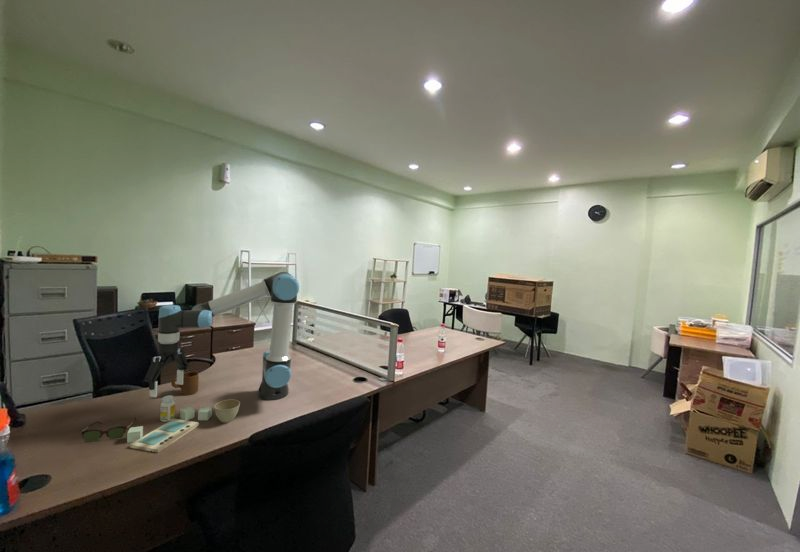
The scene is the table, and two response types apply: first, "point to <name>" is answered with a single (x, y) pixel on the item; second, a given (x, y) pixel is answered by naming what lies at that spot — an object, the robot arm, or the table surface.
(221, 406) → the beige bowl
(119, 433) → the sunglasses
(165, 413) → the supplement bottle
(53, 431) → the table surface
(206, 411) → the block
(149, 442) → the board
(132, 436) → the block
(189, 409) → the block
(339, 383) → the table surface
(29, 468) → the table surface
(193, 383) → the mug
